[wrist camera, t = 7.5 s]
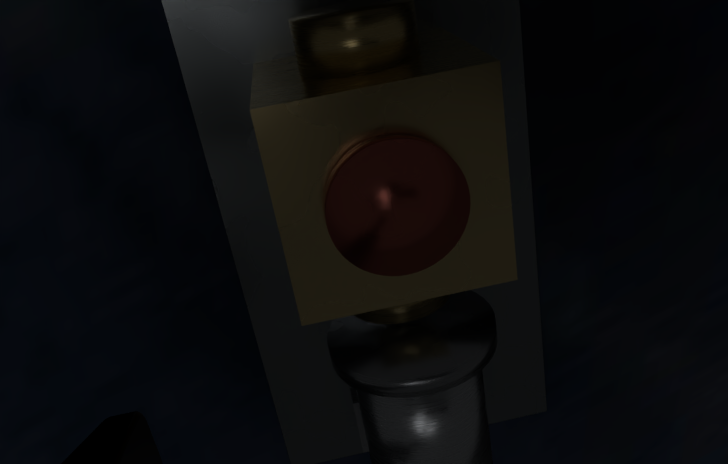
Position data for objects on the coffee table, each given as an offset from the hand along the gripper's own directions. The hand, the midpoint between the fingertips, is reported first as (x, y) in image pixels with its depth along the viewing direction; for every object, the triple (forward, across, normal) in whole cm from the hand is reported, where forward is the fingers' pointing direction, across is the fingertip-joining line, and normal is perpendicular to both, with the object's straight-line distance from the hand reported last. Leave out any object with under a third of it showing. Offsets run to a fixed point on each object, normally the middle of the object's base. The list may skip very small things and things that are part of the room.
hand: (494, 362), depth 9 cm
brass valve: (+11, 0, 0) cm, 11 cm away
